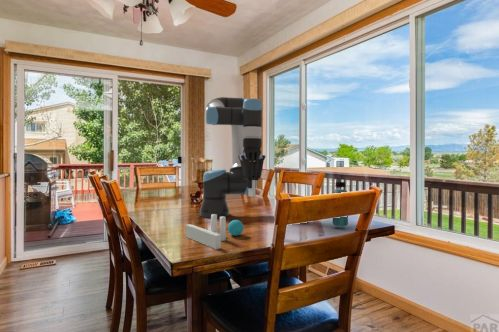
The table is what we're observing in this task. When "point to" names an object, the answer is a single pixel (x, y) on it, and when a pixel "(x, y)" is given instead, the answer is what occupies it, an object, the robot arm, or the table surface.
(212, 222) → the pin
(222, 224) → the pin
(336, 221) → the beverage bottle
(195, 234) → the back stop
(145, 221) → the table surface
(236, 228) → the ball
